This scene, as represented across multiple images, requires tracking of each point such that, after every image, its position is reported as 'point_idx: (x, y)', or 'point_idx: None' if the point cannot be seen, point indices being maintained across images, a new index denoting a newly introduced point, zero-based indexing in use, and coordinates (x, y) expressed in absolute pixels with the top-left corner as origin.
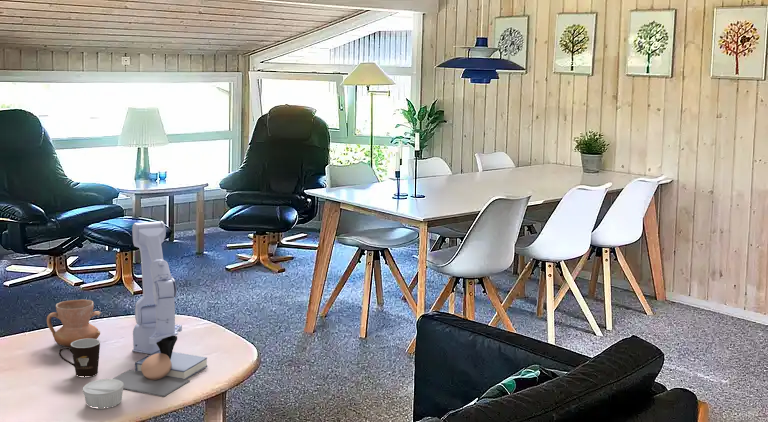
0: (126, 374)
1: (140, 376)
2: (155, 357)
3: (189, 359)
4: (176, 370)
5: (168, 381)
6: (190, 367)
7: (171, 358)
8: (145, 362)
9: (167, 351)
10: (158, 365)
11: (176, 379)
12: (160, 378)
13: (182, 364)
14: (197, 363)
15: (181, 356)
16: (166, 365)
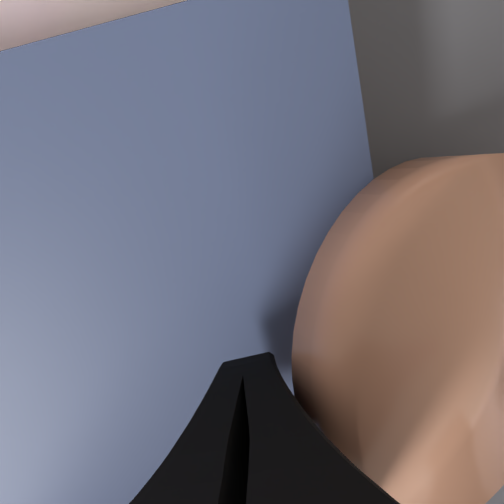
0: None
1: None
2: (433, 457)
3: (4, 246)
4: (359, 92)
5: (455, 90)
6: (172, 6)
7: (138, 416)
8: (500, 466)
9: (313, 437)
10: (496, 297)
11: (369, 64)
12: None
13: (177, 181)
14: (2, 51)
15: (20, 386)
16: (478, 193)
